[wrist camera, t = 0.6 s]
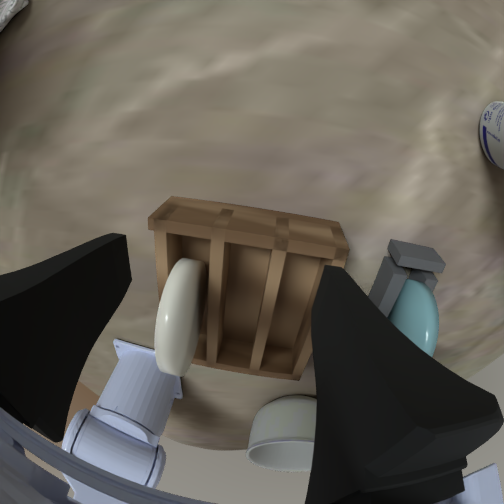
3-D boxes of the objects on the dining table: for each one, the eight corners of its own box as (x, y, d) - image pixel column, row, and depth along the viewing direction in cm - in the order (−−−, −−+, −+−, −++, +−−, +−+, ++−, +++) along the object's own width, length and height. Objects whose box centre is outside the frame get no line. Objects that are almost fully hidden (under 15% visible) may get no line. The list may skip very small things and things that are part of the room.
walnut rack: (298, 347, 26) (299, 380, 22) (175, 325, 26) (162, 356, 22) (338, 222, 19) (349, 249, 16) (171, 196, 19) (147, 217, 16)
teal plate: (378, 325, 24) (392, 401, 18) (367, 324, 24) (379, 401, 18) (416, 259, 19) (452, 341, 13) (404, 257, 19) (438, 341, 13)
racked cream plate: (205, 321, 24) (180, 397, 17) (192, 318, 24) (163, 393, 17) (208, 239, 20) (169, 316, 13) (192, 237, 20) (147, 311, 13)
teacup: (253, 421, 35) (247, 470, 28) (251, 381, 29) (242, 443, 22) (349, 421, 33) (353, 469, 26) (371, 381, 28) (381, 441, 21)
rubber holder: (388, 337, 24) (394, 355, 22) (350, 334, 24) (354, 353, 22) (433, 248, 19) (445, 264, 17) (390, 239, 19) (401, 255, 17)
